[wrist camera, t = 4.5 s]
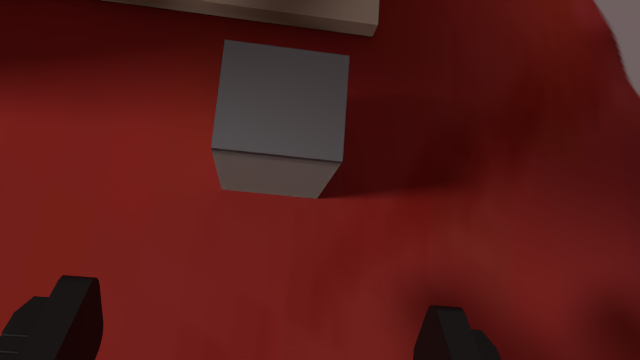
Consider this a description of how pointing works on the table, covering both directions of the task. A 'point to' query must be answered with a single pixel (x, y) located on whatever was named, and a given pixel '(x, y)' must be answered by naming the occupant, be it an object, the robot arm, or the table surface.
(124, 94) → the table surface
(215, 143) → the block
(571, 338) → the table surface
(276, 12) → the din rail mount
